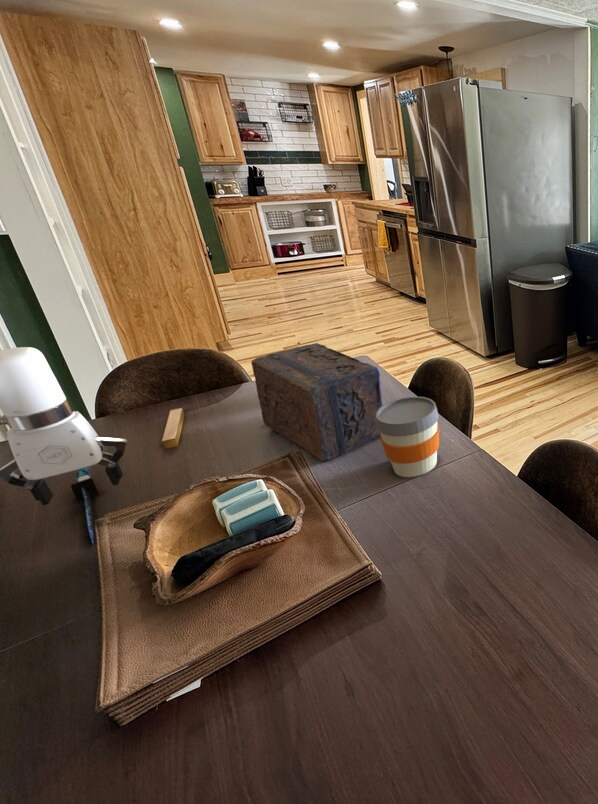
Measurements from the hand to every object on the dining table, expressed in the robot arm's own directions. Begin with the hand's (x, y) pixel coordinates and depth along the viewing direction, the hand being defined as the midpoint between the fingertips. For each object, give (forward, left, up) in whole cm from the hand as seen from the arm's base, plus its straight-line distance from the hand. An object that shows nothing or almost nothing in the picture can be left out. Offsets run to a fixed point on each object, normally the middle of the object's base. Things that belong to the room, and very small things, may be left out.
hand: (83, 490), depth 92 cm
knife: (0, 0, -5) cm, 5 cm away
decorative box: (+42, +6, -5) cm, 43 cm away
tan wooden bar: (+10, +28, -4) cm, 30 cm away
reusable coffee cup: (+56, -22, -5) cm, 61 cm away
